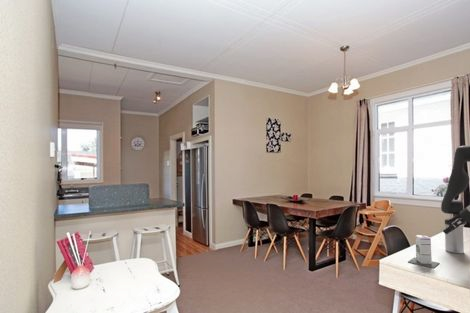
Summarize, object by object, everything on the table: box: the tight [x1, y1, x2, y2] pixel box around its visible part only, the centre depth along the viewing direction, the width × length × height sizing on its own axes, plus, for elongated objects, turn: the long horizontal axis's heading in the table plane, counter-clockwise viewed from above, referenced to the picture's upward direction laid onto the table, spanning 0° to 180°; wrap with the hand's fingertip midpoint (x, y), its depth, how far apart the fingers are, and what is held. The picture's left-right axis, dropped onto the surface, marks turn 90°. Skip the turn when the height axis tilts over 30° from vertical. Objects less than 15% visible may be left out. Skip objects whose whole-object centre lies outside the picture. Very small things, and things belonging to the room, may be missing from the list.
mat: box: [407, 256, 441, 269], centre depth 152 cm, size 12×12×1 cm
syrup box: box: [415, 234, 433, 264], centre depth 152 cm, size 6×6×14 cm
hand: (446, 231), depth 144 cm, fingers open, 8 cm apart
